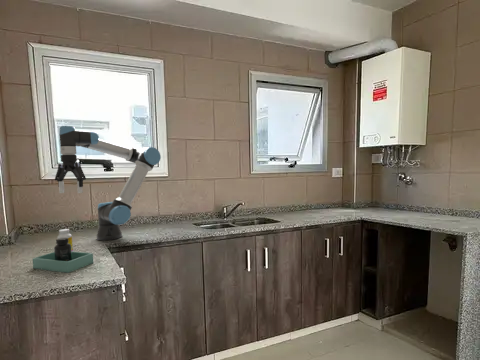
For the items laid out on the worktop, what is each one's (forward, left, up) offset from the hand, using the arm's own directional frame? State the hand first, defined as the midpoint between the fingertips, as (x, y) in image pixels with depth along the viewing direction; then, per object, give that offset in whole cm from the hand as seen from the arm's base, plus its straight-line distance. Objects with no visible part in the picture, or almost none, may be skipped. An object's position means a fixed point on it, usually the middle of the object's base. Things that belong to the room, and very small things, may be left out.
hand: (70, 193), depth 164 cm
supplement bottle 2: (+22, +19, -31) cm, 43 cm away
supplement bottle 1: (+7, +2, -32) cm, 33 cm away
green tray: (+22, +19, -32) cm, 43 cm away
